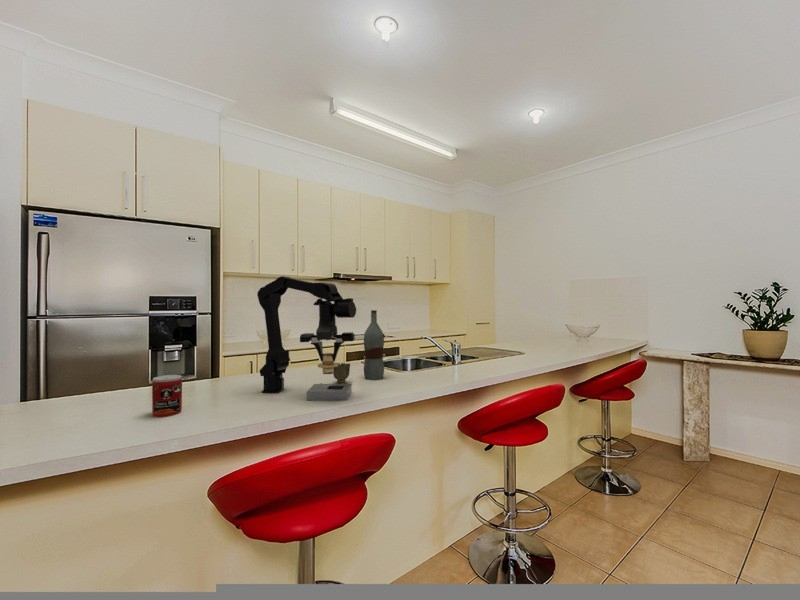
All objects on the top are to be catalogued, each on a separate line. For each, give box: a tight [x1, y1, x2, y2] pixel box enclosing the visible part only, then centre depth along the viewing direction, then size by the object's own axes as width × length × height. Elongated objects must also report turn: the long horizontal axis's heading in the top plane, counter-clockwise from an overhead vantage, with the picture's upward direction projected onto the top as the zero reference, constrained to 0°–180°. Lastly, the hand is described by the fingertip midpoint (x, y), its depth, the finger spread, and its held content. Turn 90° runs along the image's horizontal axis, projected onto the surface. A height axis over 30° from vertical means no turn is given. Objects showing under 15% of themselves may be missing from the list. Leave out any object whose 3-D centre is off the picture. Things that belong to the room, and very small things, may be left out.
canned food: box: [151, 374, 183, 418], centre depth 114 cm, size 8×8×11 cm
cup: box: [333, 362, 351, 384], centre depth 155 cm, size 8×7×8 cm
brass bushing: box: [317, 352, 339, 375], centre depth 134 cm, size 7×7×7 cm
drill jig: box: [306, 383, 353, 401], centre depth 134 cm, size 14×12×3 cm
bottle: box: [363, 309, 385, 381], centre depth 165 cm, size 9×9×30 cm
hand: (328, 361), depth 134 cm, fingers closed on brass bushing, 4 cm apart
